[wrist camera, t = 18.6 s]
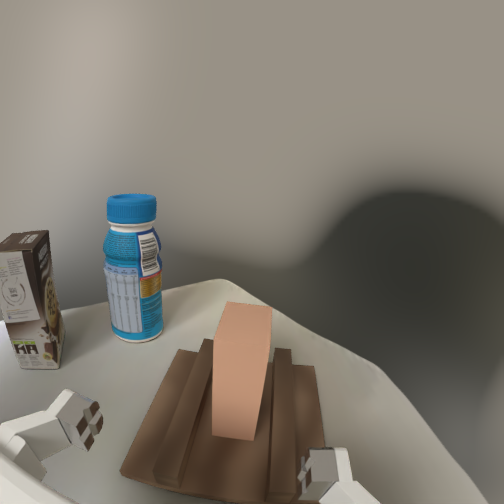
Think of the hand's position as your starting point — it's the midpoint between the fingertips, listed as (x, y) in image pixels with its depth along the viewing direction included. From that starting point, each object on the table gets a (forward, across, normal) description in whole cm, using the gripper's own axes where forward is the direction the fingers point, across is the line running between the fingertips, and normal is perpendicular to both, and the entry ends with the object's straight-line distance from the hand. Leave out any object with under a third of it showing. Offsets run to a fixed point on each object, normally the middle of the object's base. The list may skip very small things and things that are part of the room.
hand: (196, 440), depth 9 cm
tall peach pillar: (+14, -1, +14) cm, 20 cm away
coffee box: (+17, +26, +17) cm, 36 cm away
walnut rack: (+14, -2, +15) cm, 21 cm away
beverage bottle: (+28, +16, +16) cm, 36 cm away
